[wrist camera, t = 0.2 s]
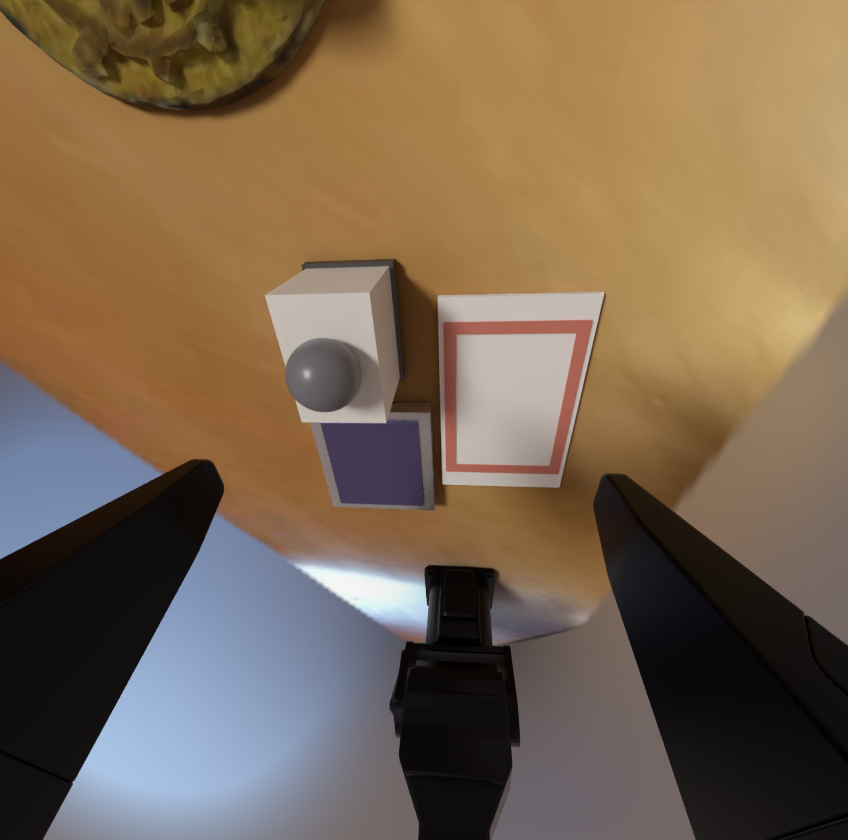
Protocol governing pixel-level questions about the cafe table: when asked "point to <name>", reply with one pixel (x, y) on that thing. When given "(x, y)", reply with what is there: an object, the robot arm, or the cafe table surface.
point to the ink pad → (380, 460)
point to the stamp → (340, 339)
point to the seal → (168, 45)
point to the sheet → (512, 384)
